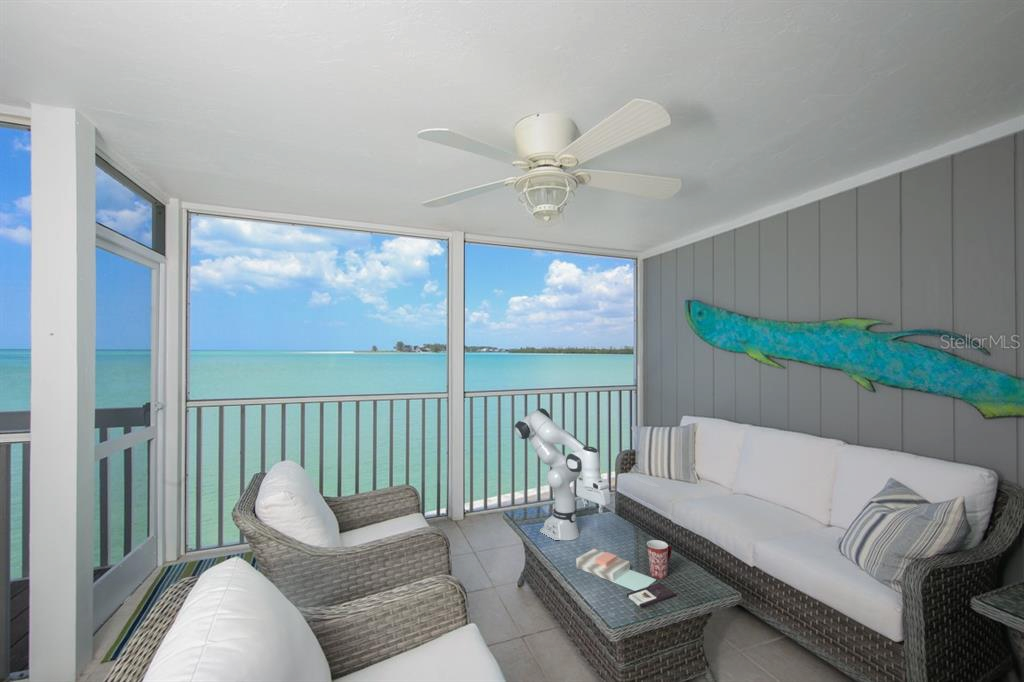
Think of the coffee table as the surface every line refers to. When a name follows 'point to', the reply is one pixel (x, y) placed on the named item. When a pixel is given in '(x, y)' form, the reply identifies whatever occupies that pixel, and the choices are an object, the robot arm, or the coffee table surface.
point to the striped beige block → (609, 572)
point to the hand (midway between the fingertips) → (593, 510)
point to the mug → (658, 557)
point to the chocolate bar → (651, 595)
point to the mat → (634, 580)
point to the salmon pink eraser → (606, 559)
